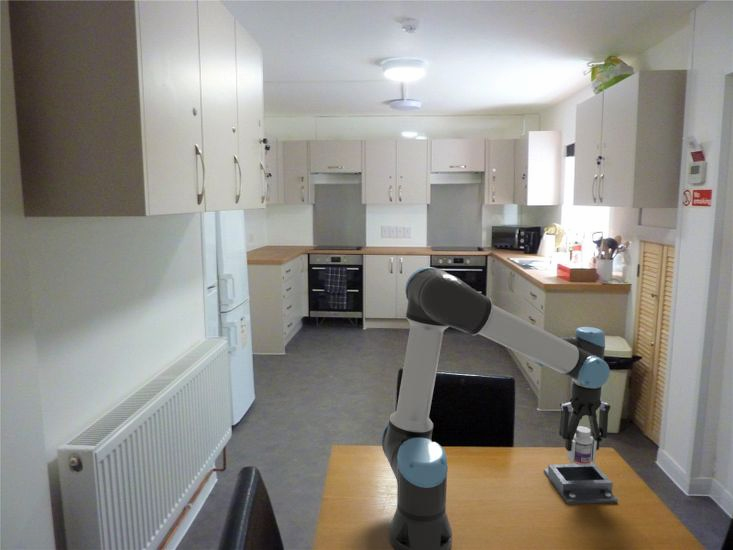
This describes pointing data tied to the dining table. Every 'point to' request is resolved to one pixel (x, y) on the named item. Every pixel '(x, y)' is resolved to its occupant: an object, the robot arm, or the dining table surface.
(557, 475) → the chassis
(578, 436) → the pill bottle
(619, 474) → the dining table surface
